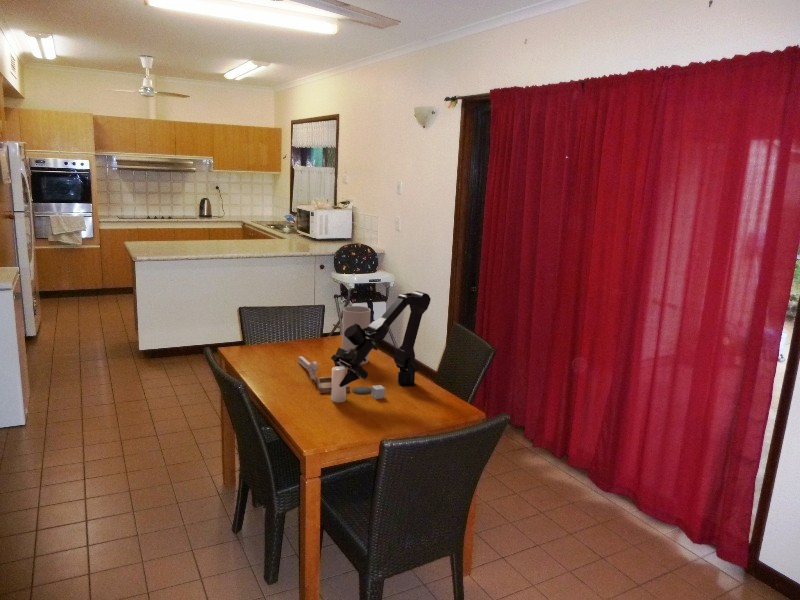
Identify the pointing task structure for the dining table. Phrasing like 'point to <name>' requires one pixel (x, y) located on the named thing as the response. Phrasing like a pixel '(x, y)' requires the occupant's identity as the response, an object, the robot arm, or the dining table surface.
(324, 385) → the bay
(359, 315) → the cylinder vase
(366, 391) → the coaster
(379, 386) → the block
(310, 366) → the wrench
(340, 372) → the white rounded tapered post
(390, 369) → the dining table surface
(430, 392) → the dining table surface
